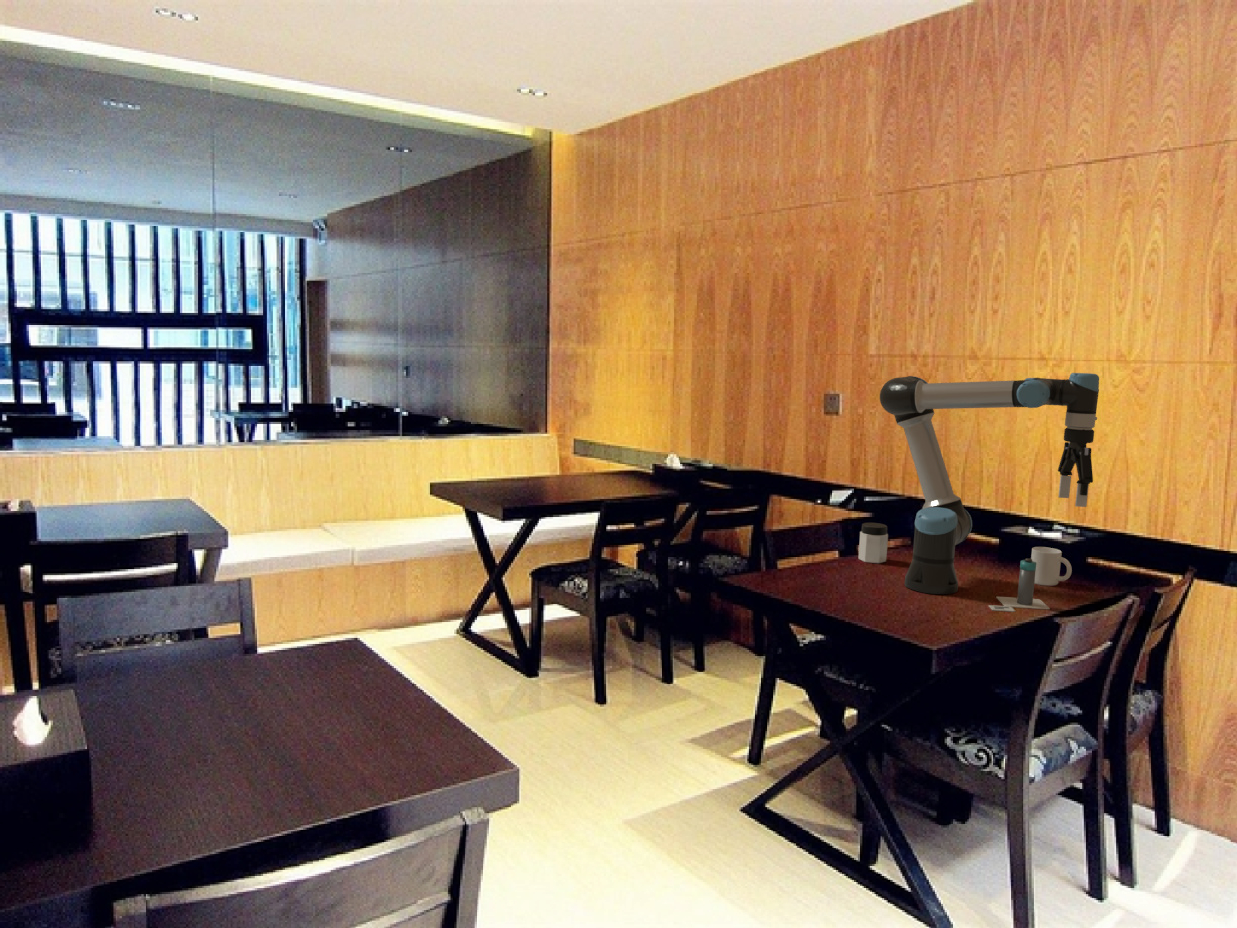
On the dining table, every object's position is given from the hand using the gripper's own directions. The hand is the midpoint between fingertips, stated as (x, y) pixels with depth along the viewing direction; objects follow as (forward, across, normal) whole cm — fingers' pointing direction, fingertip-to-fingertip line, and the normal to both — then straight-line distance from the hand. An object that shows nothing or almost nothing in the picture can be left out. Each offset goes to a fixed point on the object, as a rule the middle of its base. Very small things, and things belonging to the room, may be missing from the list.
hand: (1072, 502), depth 257 cm
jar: (+29, +34, +49) cm, 66 cm away
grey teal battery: (+28, -8, +13) cm, 32 cm away
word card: (+29, -14, +20) cm, 38 cm away
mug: (+29, +17, -2) cm, 34 cm away
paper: (+29, -7, +13) cm, 32 cm away
